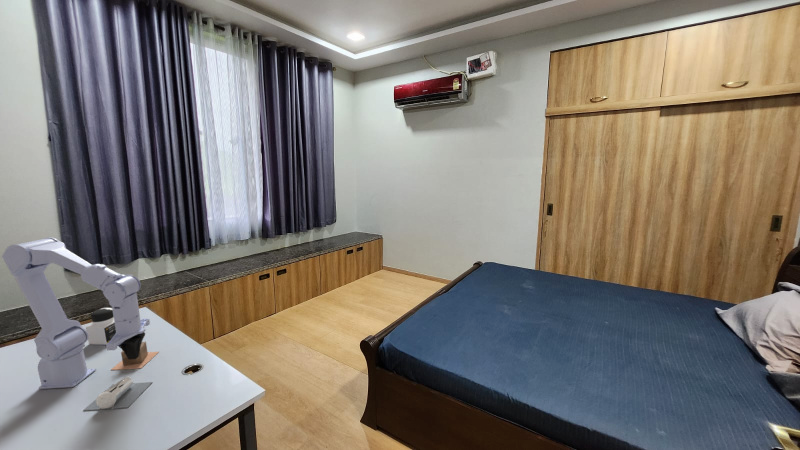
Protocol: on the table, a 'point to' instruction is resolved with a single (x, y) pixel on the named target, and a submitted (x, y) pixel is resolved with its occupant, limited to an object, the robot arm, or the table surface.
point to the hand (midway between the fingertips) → (133, 358)
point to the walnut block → (140, 359)
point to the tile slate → (124, 397)
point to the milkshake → (113, 393)
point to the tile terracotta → (135, 366)
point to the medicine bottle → (101, 326)
